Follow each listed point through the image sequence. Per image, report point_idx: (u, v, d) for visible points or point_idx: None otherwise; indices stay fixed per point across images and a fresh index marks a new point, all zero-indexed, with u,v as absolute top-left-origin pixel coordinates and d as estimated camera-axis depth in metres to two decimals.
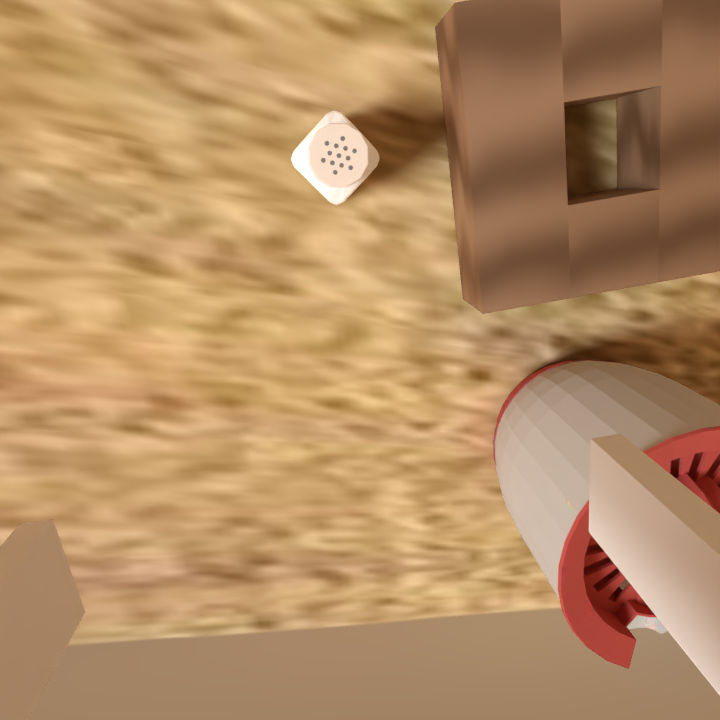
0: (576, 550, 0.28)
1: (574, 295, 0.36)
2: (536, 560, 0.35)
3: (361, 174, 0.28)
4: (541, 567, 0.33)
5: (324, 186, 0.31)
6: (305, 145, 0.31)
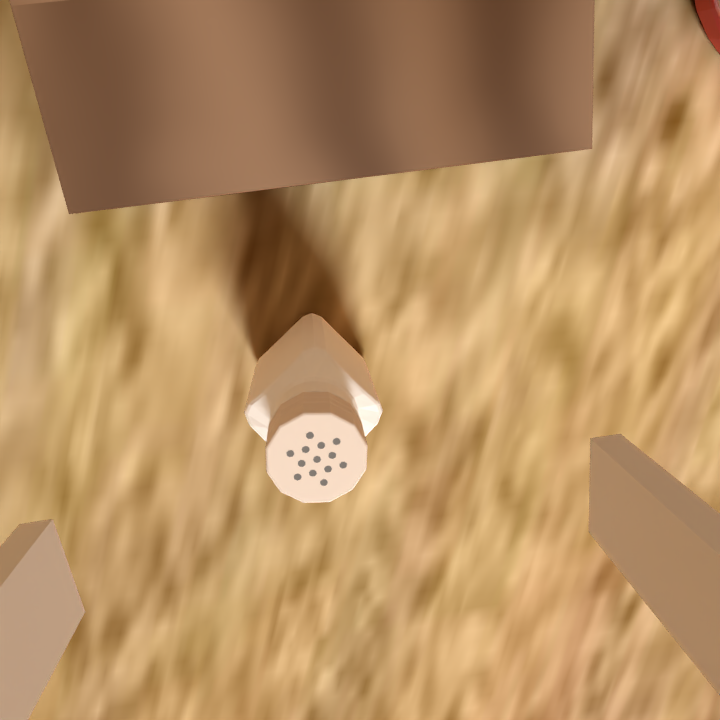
0: None
1: None
2: None
3: (348, 424, 0.16)
4: None
5: None
6: None
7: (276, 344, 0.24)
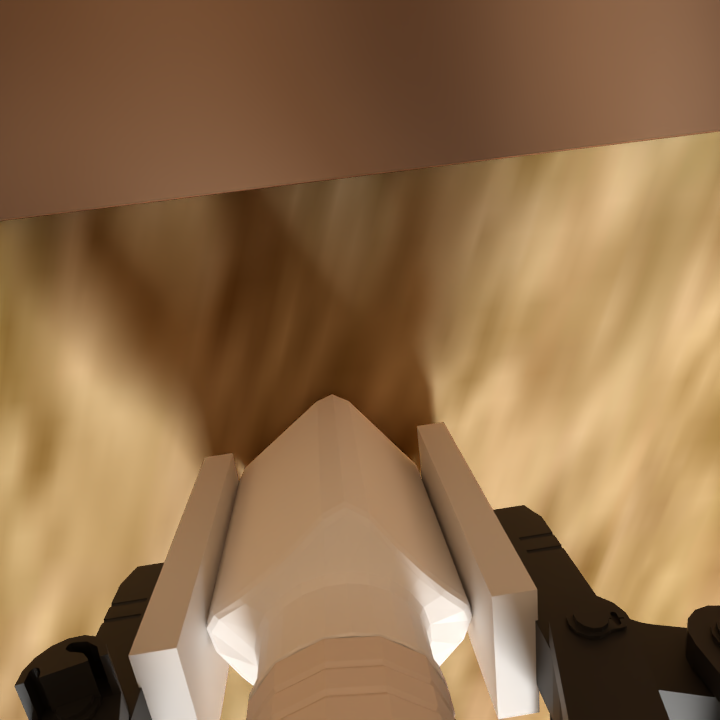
0: None
1: None
2: None
3: None
4: None
5: None
6: None
7: (273, 449, 0.14)
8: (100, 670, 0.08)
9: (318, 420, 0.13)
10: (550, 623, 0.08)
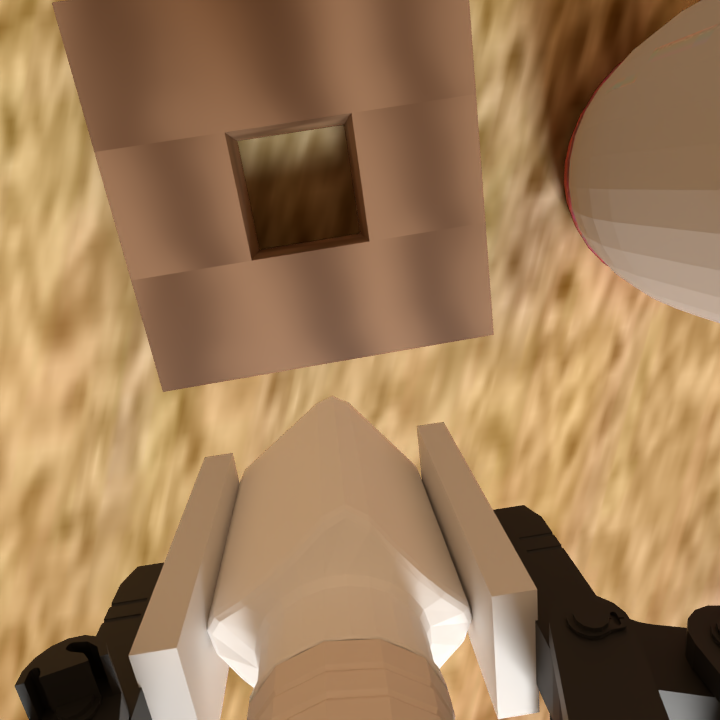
0: None
1: (482, 218, 0.28)
2: None
3: None
4: None
5: None
6: None
7: (273, 451, 0.14)
8: (99, 671, 0.08)
9: (318, 422, 0.13)
10: (550, 623, 0.08)
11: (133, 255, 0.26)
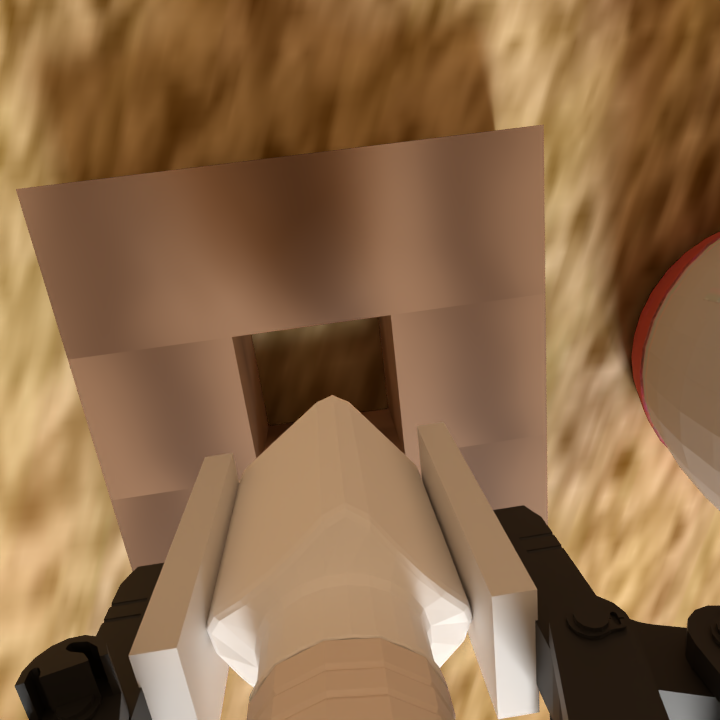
0: None
1: (543, 429, 0.23)
2: None
3: None
4: None
5: None
6: None
7: (273, 450, 0.14)
8: (99, 671, 0.08)
9: (318, 421, 0.13)
10: (550, 623, 0.08)
11: (114, 473, 0.21)
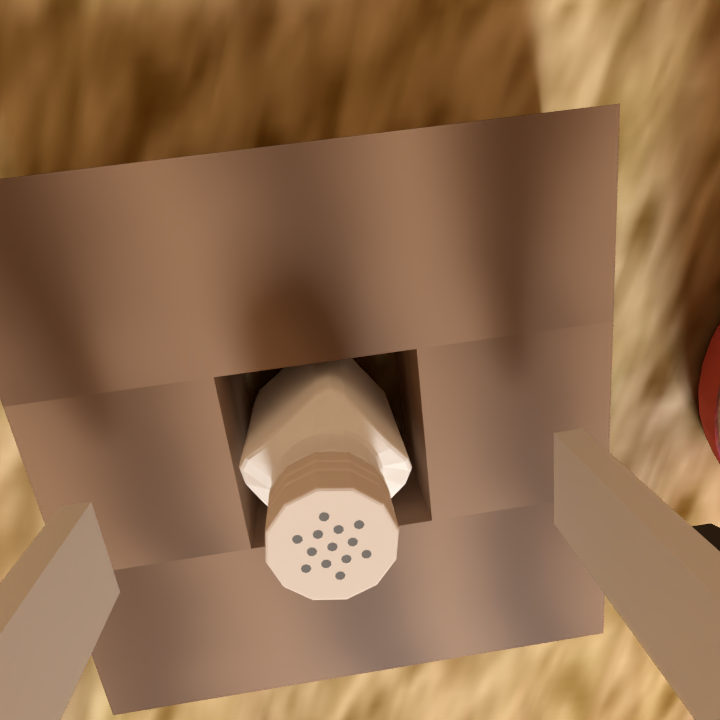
0: None
1: None
2: None
3: (375, 503, 0.12)
4: None
5: None
6: None
7: (281, 374, 0.20)
8: None
9: None
10: None
11: None
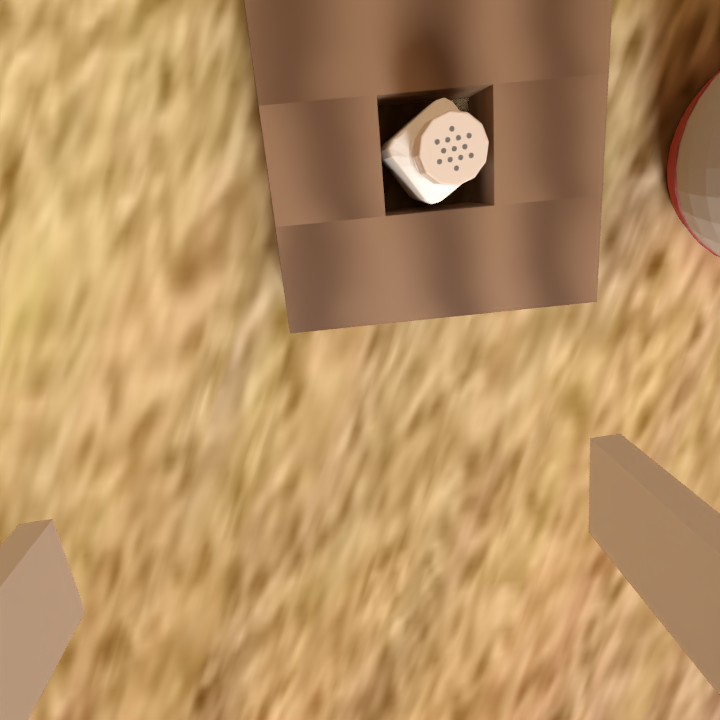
0: None
1: (600, 190, 0.30)
2: None
3: (478, 122, 0.24)
4: None
5: None
6: (422, 186, 0.28)
7: None
8: None
9: None
10: None
11: (280, 204, 0.29)
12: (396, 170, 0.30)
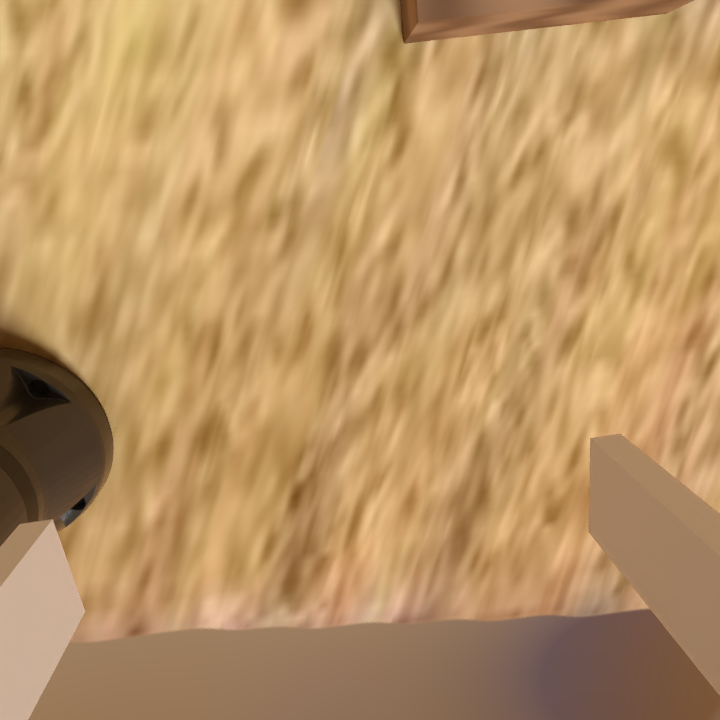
0: None
1: None
2: None
3: None
4: None
5: None
6: None
7: None
8: None
9: None
10: None
11: None
12: None
